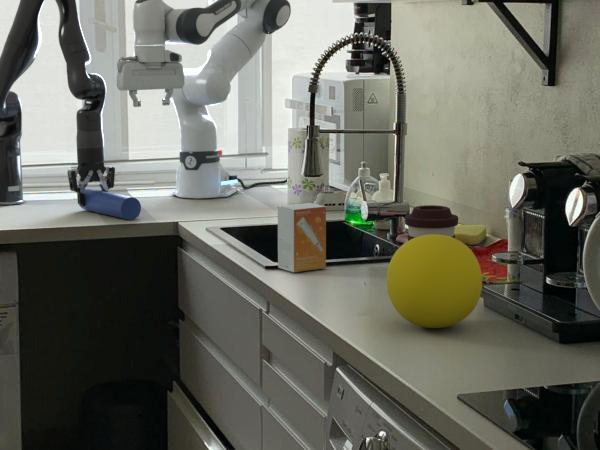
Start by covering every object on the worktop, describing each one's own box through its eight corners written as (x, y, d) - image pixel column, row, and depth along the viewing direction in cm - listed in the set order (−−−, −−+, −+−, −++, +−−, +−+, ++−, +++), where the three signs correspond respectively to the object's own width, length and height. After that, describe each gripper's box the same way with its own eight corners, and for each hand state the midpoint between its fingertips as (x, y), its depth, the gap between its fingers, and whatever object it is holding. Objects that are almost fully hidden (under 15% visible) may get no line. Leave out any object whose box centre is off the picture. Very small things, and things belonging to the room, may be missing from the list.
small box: (294, 273, 210) (293, 209, 208) (277, 268, 215) (276, 205, 213) (327, 268, 215) (326, 205, 212) (309, 263, 220) (309, 202, 218)
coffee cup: (400, 280, 202) (400, 204, 200) (450, 279, 203) (451, 203, 201) (409, 292, 193) (410, 212, 190) (462, 291, 193) (463, 211, 191)
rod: (78, 211, 296) (77, 189, 295) (97, 208, 300) (96, 187, 299) (121, 221, 278) (120, 198, 277) (141, 218, 281) (140, 196, 280)
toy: (451, 310, 179) (452, 224, 177) (498, 332, 165) (500, 239, 163) (371, 319, 174) (371, 230, 171) (412, 342, 160) (413, 246, 157)
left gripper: (106, 143, 300) (109, 201, 303) (60, 146, 291) (63, 206, 293) (119, 145, 294) (122, 203, 297) (73, 148, 285) (76, 209, 288)
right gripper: (123, 56, 281) (125, 108, 283) (186, 55, 294) (188, 104, 296) (111, 56, 286) (113, 107, 288) (174, 55, 299) (175, 104, 301)
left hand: (93, 204), depth 295 cm, fingers closed on rod, 6 cm apart
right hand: (151, 106), depth 292 cm, fingers open, 8 cm apart
